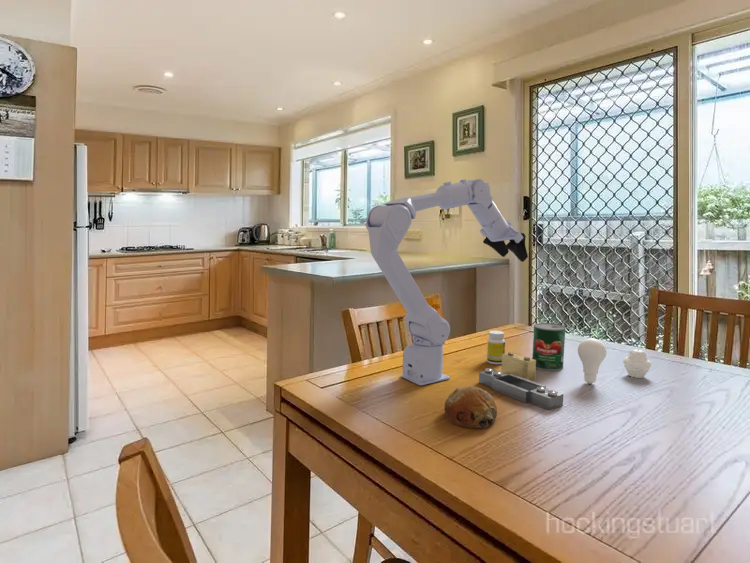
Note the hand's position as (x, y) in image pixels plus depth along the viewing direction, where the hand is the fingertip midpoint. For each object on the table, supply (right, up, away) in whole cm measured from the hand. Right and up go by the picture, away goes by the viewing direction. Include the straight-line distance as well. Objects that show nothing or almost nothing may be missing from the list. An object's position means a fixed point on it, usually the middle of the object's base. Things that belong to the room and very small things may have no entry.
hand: (515, 256), depth 123 cm
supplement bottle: (-5, -29, +3) cm, 29 cm away
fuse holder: (-6, -32, -20) cm, 38 cm away
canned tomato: (+8, -30, -1) cm, 31 cm away
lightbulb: (+14, -31, -14) cm, 37 cm away
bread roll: (-19, -34, -34) cm, 51 cm away
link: (-2, -30, -8) cm, 32 cm away
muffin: (+28, -31, -8) cm, 42 cm away
